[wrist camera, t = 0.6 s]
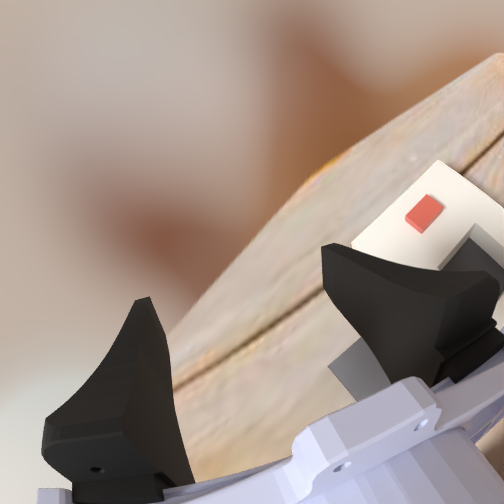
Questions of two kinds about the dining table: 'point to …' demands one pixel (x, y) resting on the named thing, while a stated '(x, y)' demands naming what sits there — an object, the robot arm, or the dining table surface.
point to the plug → (359, 371)
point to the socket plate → (441, 229)
